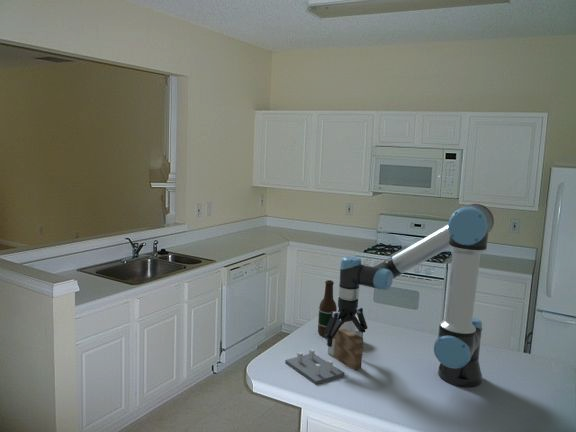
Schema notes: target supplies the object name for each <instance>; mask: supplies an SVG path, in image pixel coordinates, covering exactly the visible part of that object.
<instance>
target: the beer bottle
mask: <svg viewBox="0 0 576 432" xmlns="http://www.w3.org/2000/svg"><path fill="white" fill-rule="evenodd" d="M334 283H335V282H334V281H333V280H325V281H324V284H325V287H324V288H325V289H324V296H323V298H322V300H321V301H320V303H319V307H318V321H317V324H318V325H317V332H318V335H319V336H320V337H324V336H323V334H324V331H325V329H326V327H327V324H328V322H329V320H330V318H331V313H332V311H334V312H338V310H337V309H338V308H337V307H338V305H337V303H336V301H335V300H334V285H335V284H334Z"/></svg>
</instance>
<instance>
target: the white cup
mask: <svg viewBox="0 0 576 432" xmlns="http://www.w3.org/2000/svg"><path fill="white" fill-rule="evenodd" d="M355 316H356V318H357V320H358V321H359V319H358V316H357V314H355ZM341 327H342V328H344V329H346V330H348V331H350V332H352V333H354V334H356V330H358V329H357V327H356V326H355V325H354V323H353V322H352V320H351V321H348V322H344V324H342V325H341Z"/></svg>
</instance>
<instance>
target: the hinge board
mask: <svg viewBox="0 0 576 432" xmlns="http://www.w3.org/2000/svg"><path fill="white" fill-rule="evenodd" d="M308 351H309V354H304V355H303V353H302V352H301V351H299V352H297V353H296V354H297V356H296V357H292V358H289V359H288V358H287V359H285V364H286V365H287V366H289V367H290V368H291V369H293V370H295V371H296V372H297V373H298V374H300V375H302V376H303V377H305V378H306V379H307V380H309V381H310V382H311V383H312V384H314V385H319V384H322V383H324V382H328V381H332V380H335V379H339V378H343V377H345V372H344V371H342V370H341V369H340V368H337V367H336V366H334V365H333V364H334V361H332V360H331V359H329V360H325V359H323V358H322V357H320V356H319V355H317V354H315V350H314V349H313V348H311V349H309V350H308Z"/></svg>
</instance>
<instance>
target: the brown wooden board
mask: <svg viewBox="0 0 576 432" xmlns="http://www.w3.org/2000/svg"><path fill="white" fill-rule="evenodd" d="M333 338H334V339H335V344H334V355H330V354H329V353H328V352H327V354H328V355H329V356H330V357H332V358H334V359H336V360H337V361H339V363H342V364H343V365H346V366H347V367H349V368H350V369H352V370H354V371H358V370H361V369H362V362H363V361H362V360H363V349H364V348H363V345H364V337H363V338H362V337H360V336H358V335H356V334H354V333H352V332H350V331H348V330H346V329H344V328H342V327H340V328H339V330H338V331H337V333H336V334H335V336H334V337H333Z"/></svg>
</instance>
